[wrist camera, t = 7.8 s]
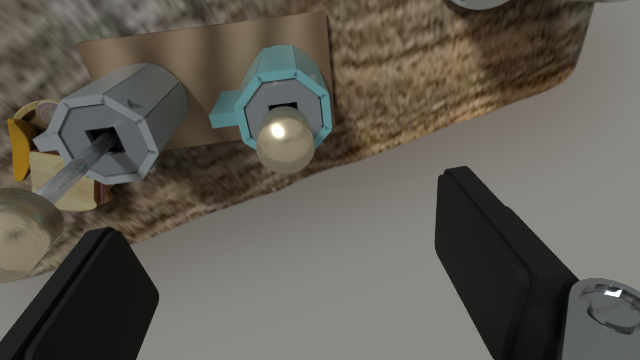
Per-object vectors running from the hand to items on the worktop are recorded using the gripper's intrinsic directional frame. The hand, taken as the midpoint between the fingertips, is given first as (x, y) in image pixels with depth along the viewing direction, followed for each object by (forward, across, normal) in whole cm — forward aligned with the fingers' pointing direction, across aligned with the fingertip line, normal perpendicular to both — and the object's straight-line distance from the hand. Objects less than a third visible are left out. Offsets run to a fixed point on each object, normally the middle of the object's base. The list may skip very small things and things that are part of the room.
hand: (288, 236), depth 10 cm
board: (+32, +9, +3) cm, 33 cm away
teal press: (+31, +2, +3) cm, 31 cm away
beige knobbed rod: (+22, +16, +3) cm, 27 cm away
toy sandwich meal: (+32, +28, +8) cm, 43 cm away
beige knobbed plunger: (+29, +1, +3) cm, 30 cm away
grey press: (+31, +17, +3) cm, 35 cm away
